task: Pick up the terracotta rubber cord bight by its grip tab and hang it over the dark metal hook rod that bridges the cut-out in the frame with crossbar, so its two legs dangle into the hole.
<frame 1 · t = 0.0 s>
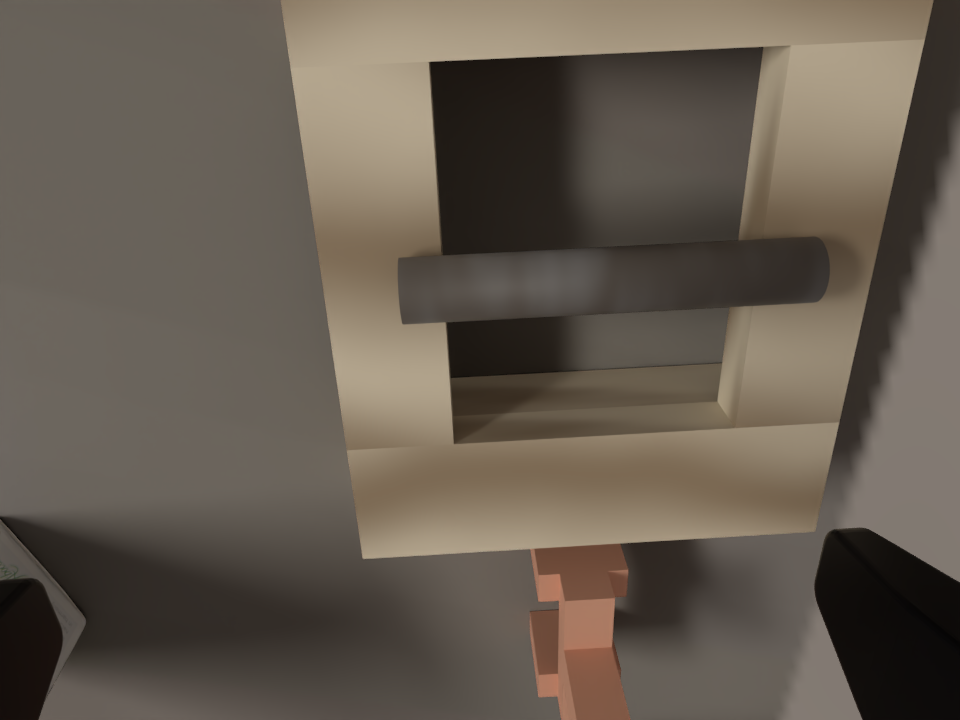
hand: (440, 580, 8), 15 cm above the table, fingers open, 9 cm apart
frame with crossbar: (576, 224, 22), on the table
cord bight: (568, 575, 28), on the table
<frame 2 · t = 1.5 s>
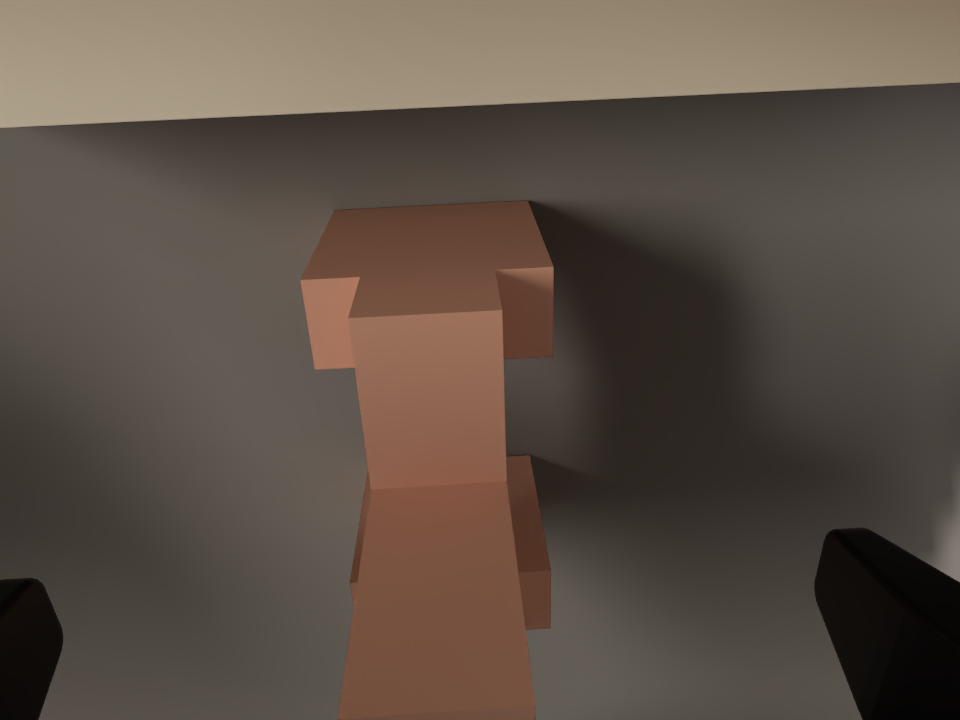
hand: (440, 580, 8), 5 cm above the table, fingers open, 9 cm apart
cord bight: (443, 374, 13), on the table
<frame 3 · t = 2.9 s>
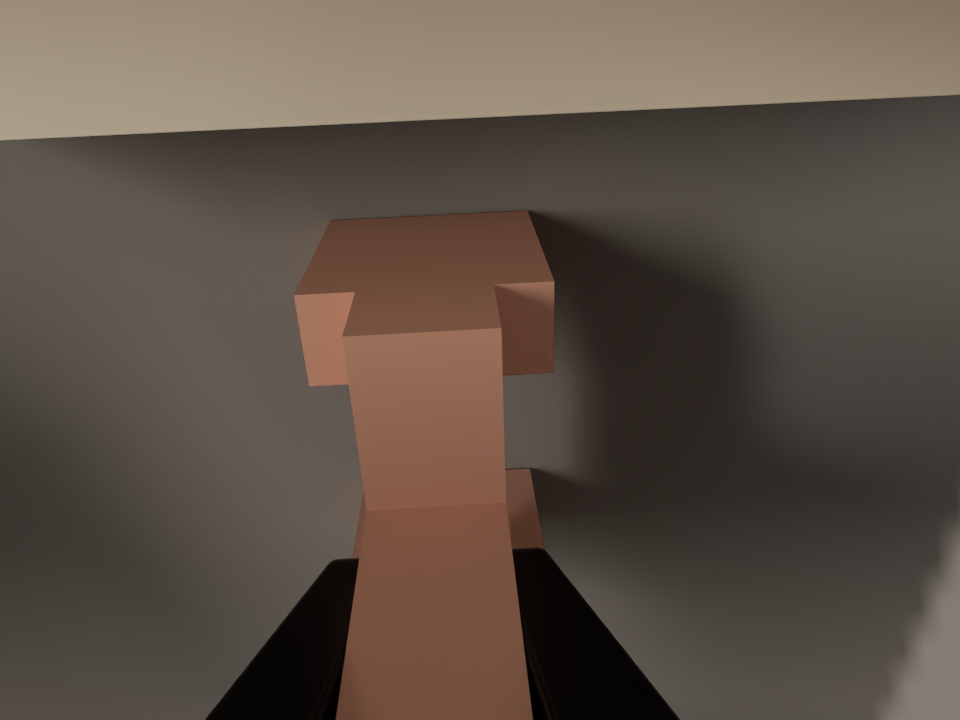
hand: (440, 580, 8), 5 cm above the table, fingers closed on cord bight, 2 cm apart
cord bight: (441, 387, 12), on the table, touching gripper
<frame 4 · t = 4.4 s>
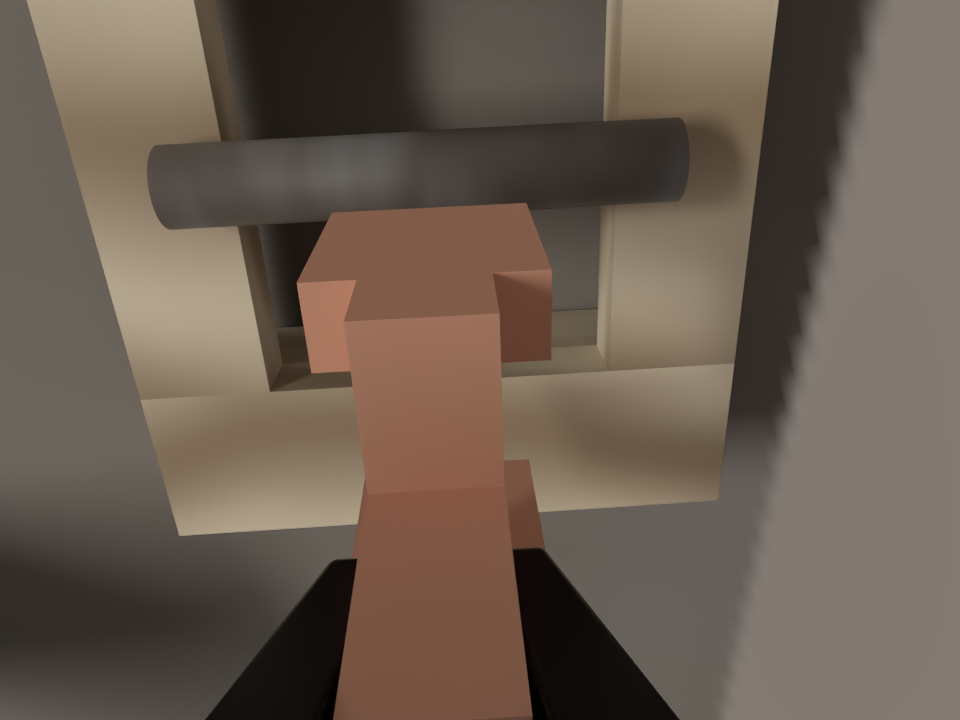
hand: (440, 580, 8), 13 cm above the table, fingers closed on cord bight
frame with crossbar: (427, 136, 18), on the table
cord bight: (441, 378, 13), point 8 cm above the table, touching gripper
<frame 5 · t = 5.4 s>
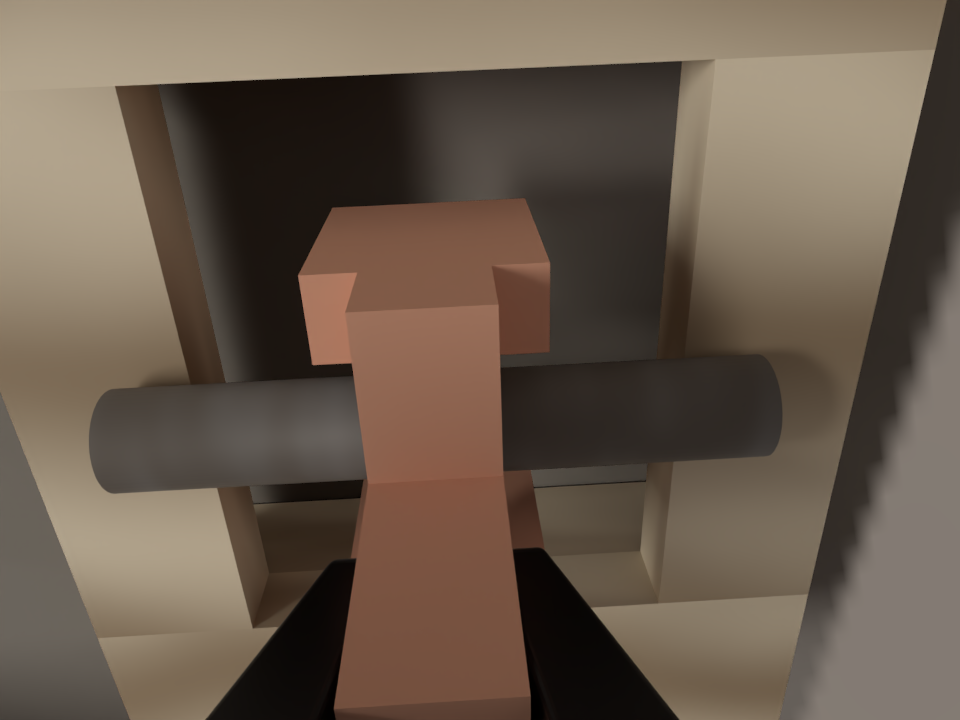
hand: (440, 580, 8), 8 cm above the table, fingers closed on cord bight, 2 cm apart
frame with crossbar: (441, 304, 15), on the table
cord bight: (441, 372, 13), point 3 cm above the table, touching gripper
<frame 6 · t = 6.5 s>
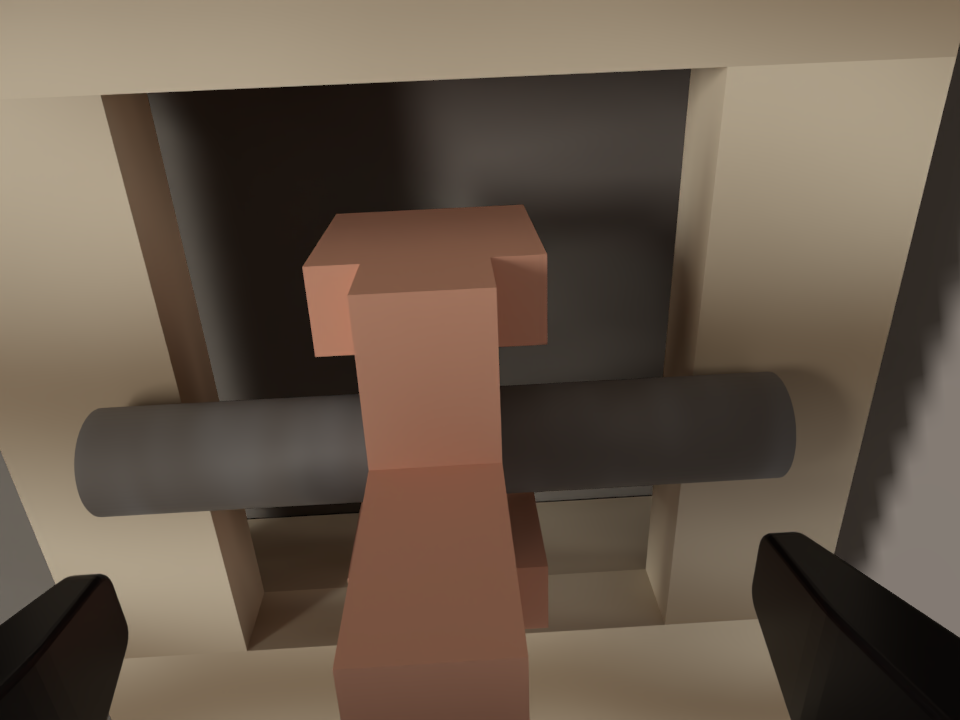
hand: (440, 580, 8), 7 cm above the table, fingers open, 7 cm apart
frame with crossbar: (441, 316, 15), on the table
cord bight: (441, 378, 13), point 3 cm above the table, touching frame with crossbar
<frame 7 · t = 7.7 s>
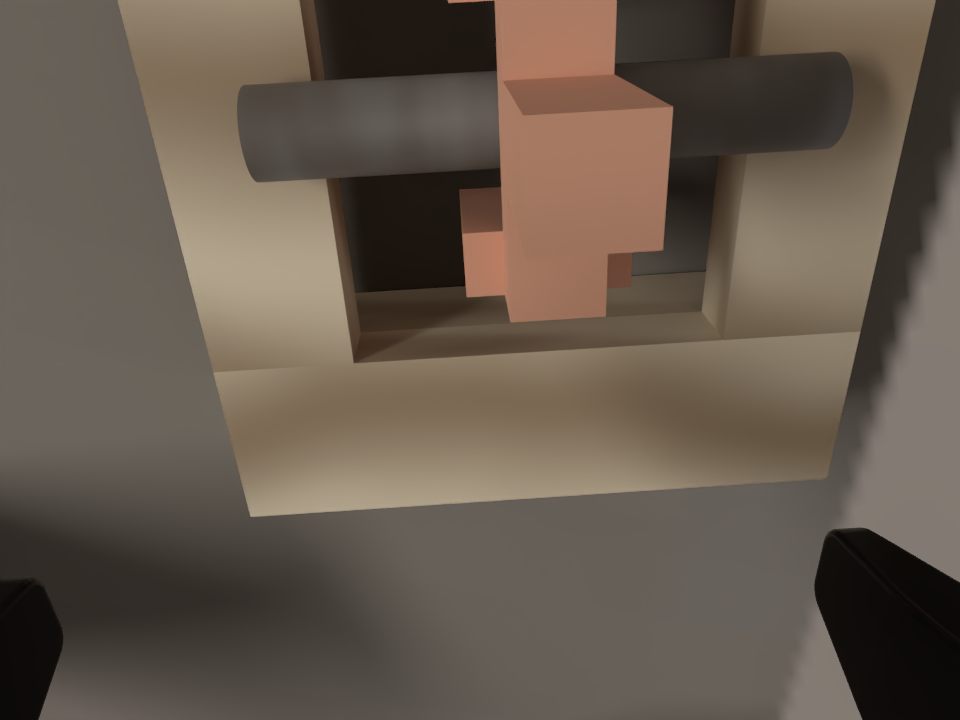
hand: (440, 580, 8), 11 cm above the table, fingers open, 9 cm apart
frame with crossbar: (517, 80, 17), on the table
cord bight: (528, 95, 14), point 2 cm above the table, touching frame with crossbar
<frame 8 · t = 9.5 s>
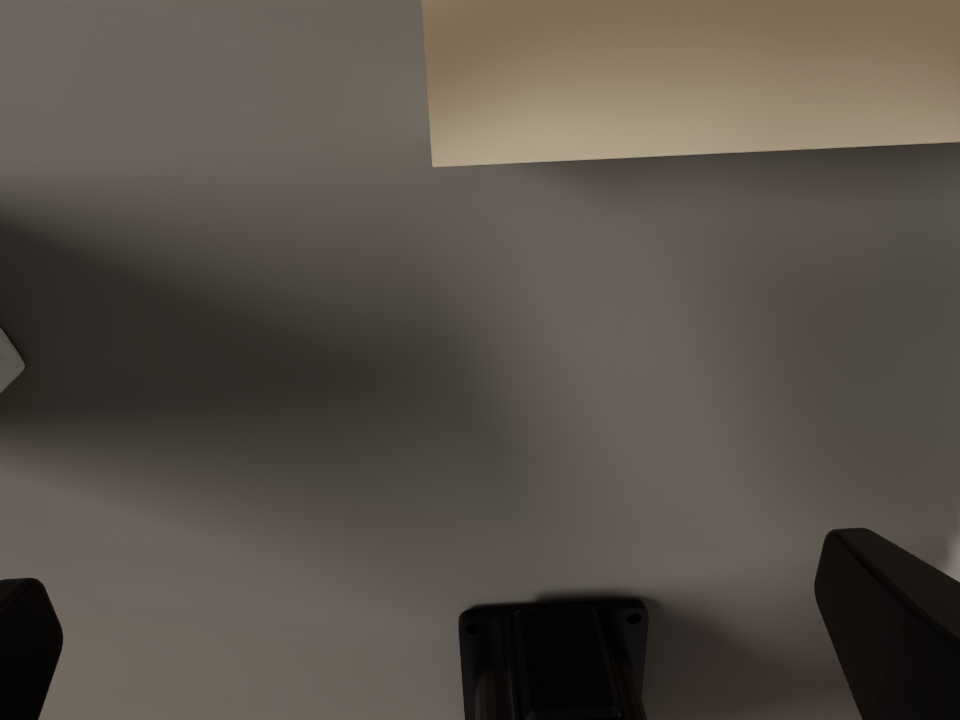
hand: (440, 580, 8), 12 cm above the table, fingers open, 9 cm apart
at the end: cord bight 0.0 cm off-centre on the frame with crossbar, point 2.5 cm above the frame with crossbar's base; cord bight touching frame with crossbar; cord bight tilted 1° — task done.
